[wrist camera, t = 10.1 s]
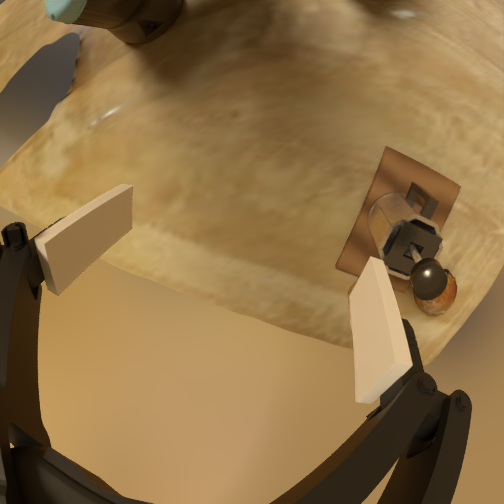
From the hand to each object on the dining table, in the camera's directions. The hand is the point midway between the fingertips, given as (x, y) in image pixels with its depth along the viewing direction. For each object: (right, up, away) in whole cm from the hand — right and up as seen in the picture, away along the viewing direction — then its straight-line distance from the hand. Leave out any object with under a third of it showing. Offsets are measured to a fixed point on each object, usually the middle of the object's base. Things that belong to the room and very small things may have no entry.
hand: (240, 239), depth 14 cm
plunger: (+25, +4, +27) cm, 37 cm away
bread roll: (+39, -8, +34) cm, 52 cm away
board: (+27, +4, +30) cm, 41 cm away
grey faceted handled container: (+25, +6, +28) cm, 38 cm away
